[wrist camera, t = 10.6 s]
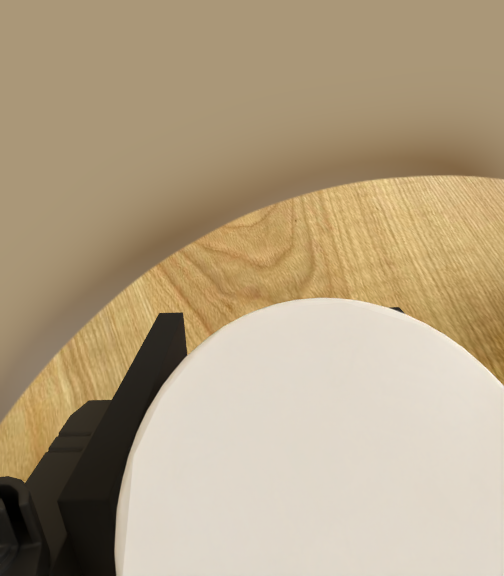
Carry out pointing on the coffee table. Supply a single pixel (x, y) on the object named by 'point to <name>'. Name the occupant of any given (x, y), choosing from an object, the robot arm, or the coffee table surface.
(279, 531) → the pill bottle
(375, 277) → the coffee table surface
